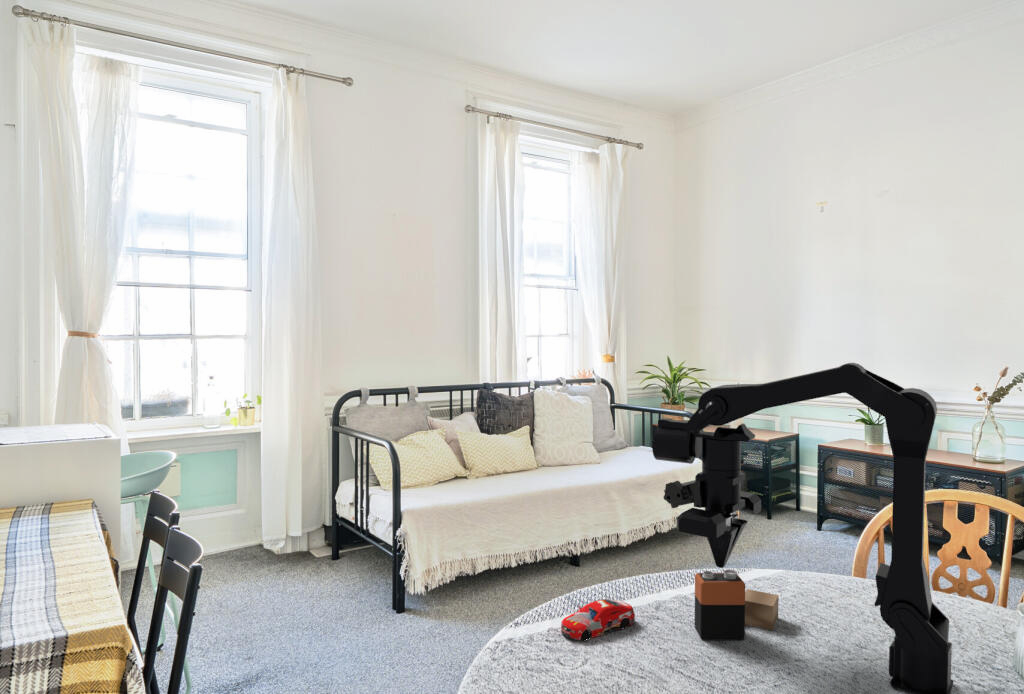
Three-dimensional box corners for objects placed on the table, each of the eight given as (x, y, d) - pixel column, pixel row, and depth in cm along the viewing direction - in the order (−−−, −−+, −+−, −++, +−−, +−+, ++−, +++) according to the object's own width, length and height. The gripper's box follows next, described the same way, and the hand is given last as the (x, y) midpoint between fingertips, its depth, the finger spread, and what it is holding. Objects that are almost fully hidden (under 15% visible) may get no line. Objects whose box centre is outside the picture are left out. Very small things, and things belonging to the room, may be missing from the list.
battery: (745, 641, 105) (746, 577, 104) (701, 641, 105) (701, 577, 104) (736, 628, 109) (737, 566, 108) (693, 628, 109) (694, 566, 109)
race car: (574, 647, 104) (574, 621, 103) (553, 633, 108) (553, 608, 108) (640, 626, 110) (640, 602, 110) (618, 614, 115) (618, 590, 115)
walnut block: (778, 619, 113) (778, 595, 112) (772, 631, 108) (773, 606, 108) (746, 612, 115) (747, 589, 115) (740, 623, 111) (740, 599, 111)
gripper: (698, 451, 118) (697, 541, 119) (645, 470, 104) (644, 571, 104) (762, 459, 111) (762, 554, 111) (715, 481, 97) (714, 590, 97)
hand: (720, 566), depth 106 cm, fingers closed
